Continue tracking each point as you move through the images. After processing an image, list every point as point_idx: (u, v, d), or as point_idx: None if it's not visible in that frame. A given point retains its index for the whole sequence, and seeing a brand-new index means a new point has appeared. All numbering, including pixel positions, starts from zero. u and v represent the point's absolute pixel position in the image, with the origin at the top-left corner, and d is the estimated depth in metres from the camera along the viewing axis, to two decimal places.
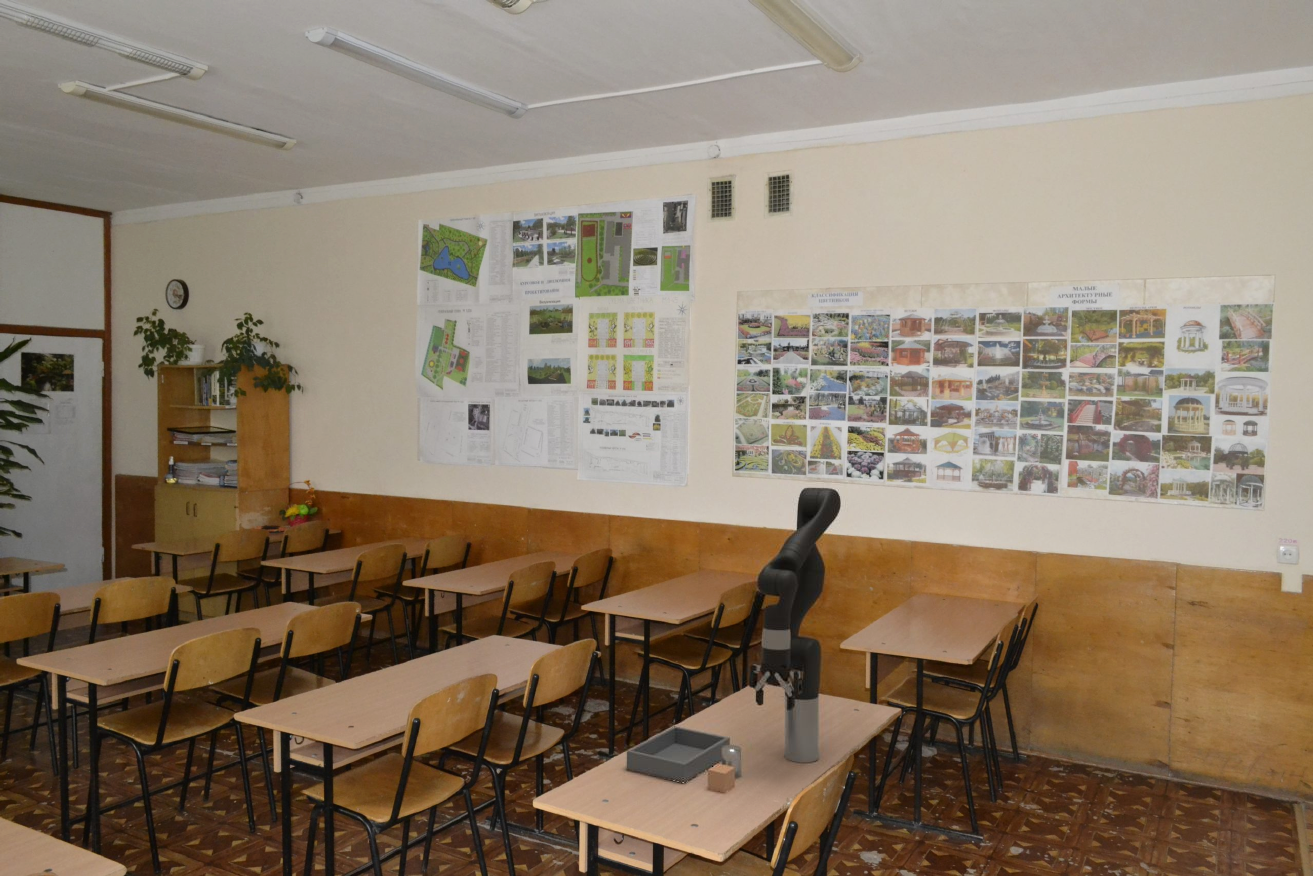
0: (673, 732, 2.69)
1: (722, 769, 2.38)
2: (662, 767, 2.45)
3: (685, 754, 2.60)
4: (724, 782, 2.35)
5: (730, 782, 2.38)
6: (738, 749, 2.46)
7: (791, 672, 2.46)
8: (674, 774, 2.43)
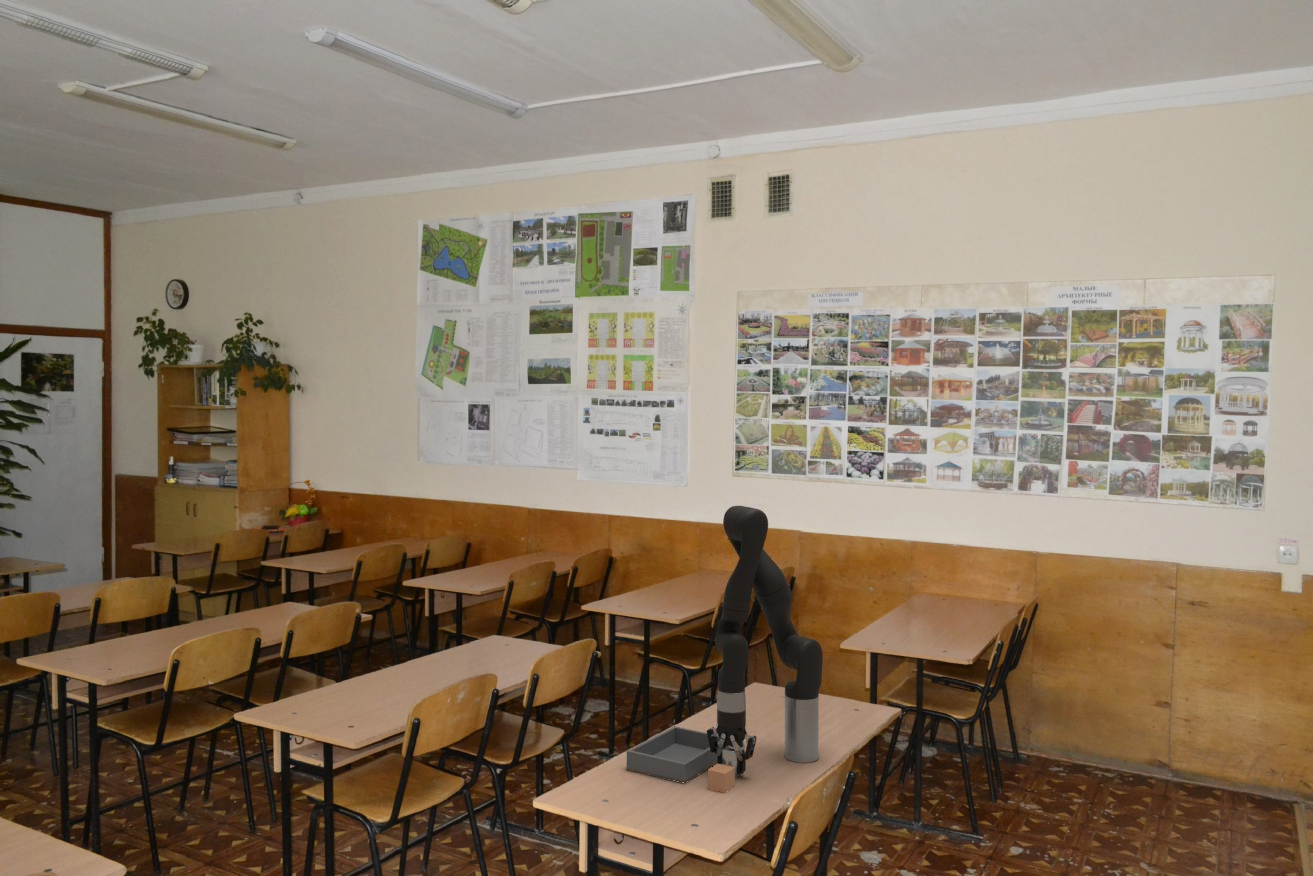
0: (673, 732, 2.69)
1: (722, 769, 2.38)
2: (662, 767, 2.45)
3: (685, 754, 2.60)
4: (724, 782, 2.35)
5: (730, 782, 2.38)
6: None
7: (746, 736, 2.44)
8: (674, 774, 2.43)
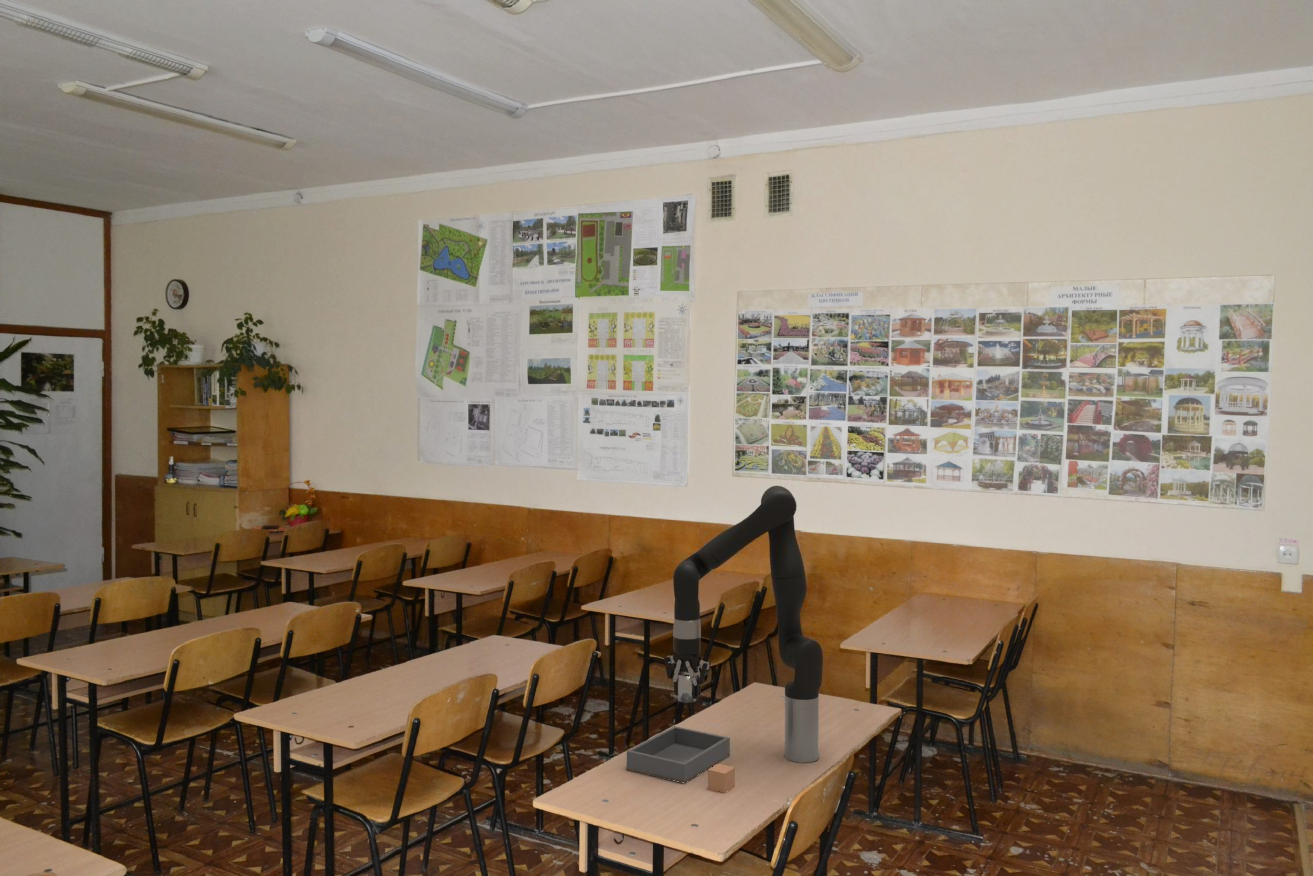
0: (673, 732, 2.69)
1: (722, 769, 2.38)
2: (662, 767, 2.45)
3: (685, 754, 2.60)
4: (724, 782, 2.35)
5: (730, 782, 2.38)
6: None
7: (701, 662, 2.56)
8: (674, 774, 2.43)
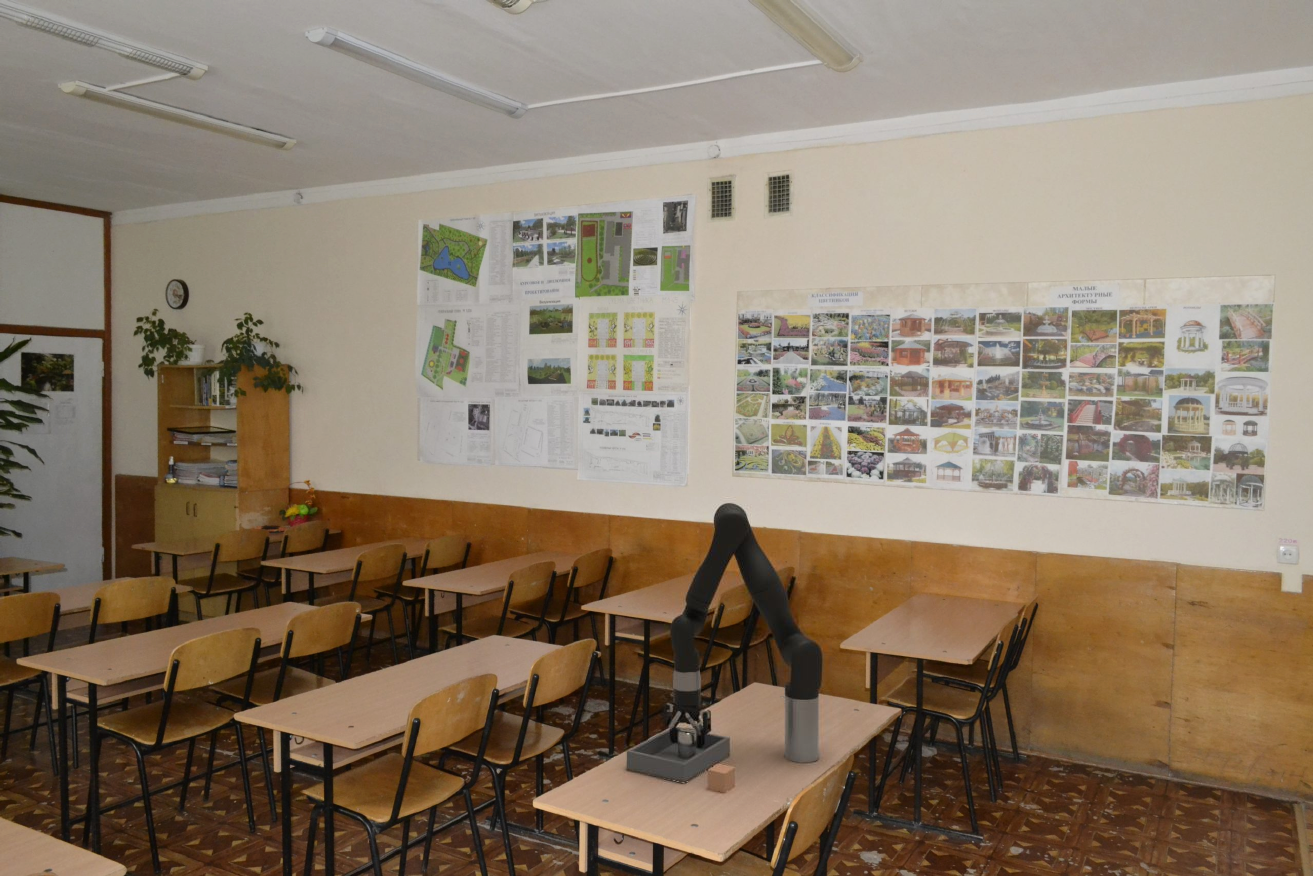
0: None
1: (722, 769, 2.38)
2: (662, 767, 2.45)
3: None
4: (724, 782, 2.35)
5: (730, 782, 2.38)
6: (693, 731, 2.58)
7: (701, 712, 2.56)
8: (674, 774, 2.43)
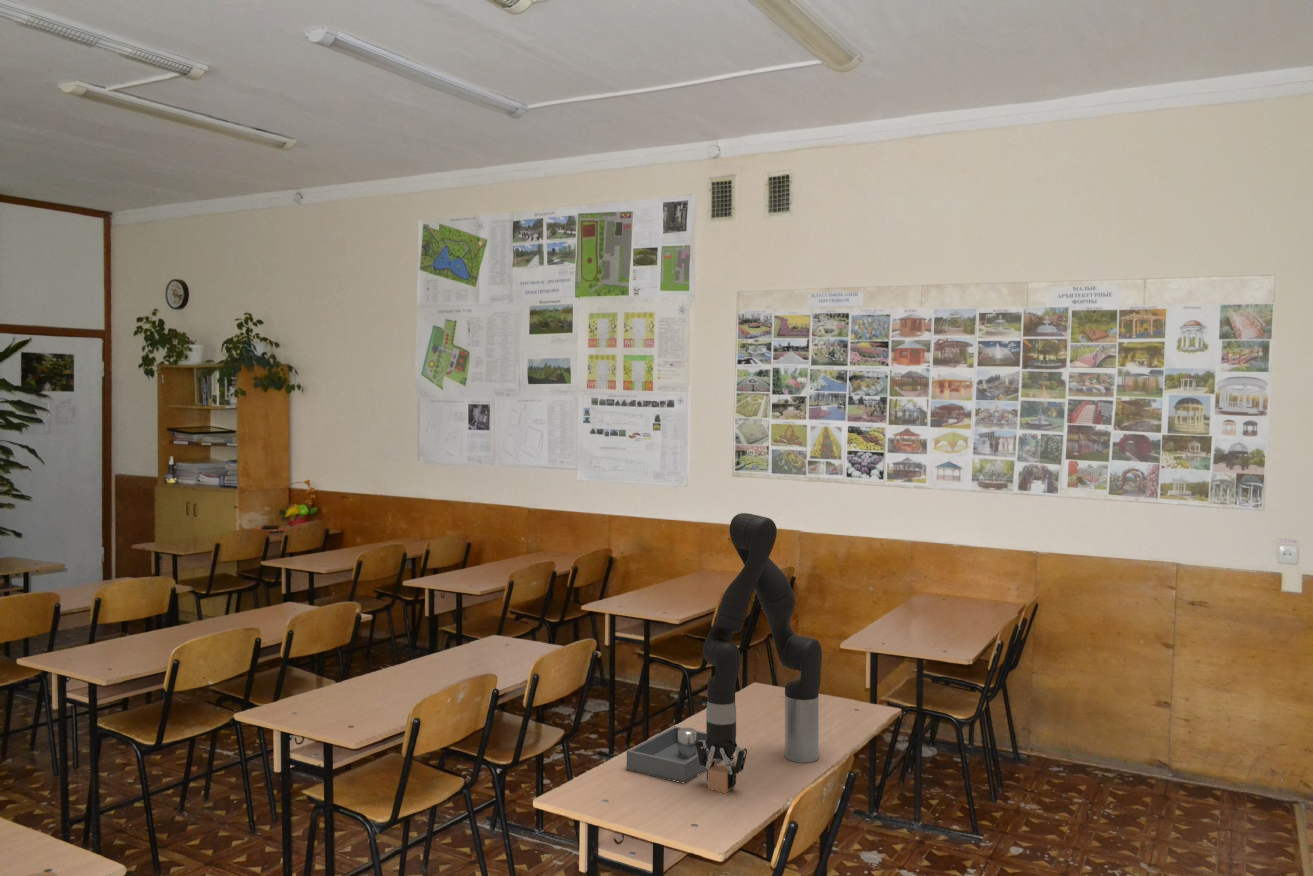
0: (673, 732, 2.69)
1: (722, 769, 2.38)
2: (662, 767, 2.45)
3: None
4: (724, 782, 2.35)
5: None
6: (693, 731, 2.58)
7: (737, 749, 2.35)
8: (674, 774, 2.43)
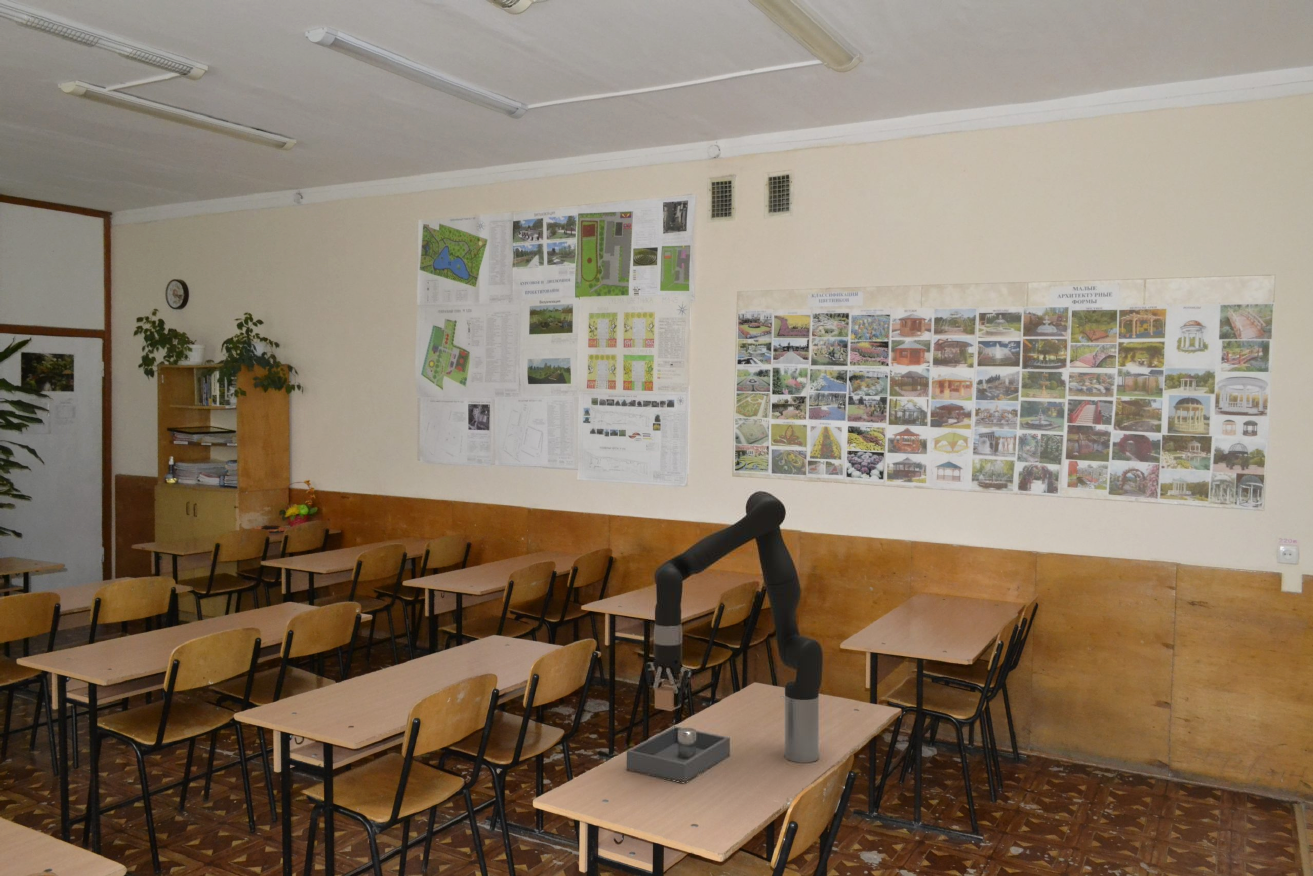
0: (673, 732, 2.69)
1: (668, 689, 2.49)
2: (662, 767, 2.45)
3: None
4: (670, 700, 2.47)
5: None
6: (693, 731, 2.58)
7: (682, 669, 2.47)
8: (674, 774, 2.43)
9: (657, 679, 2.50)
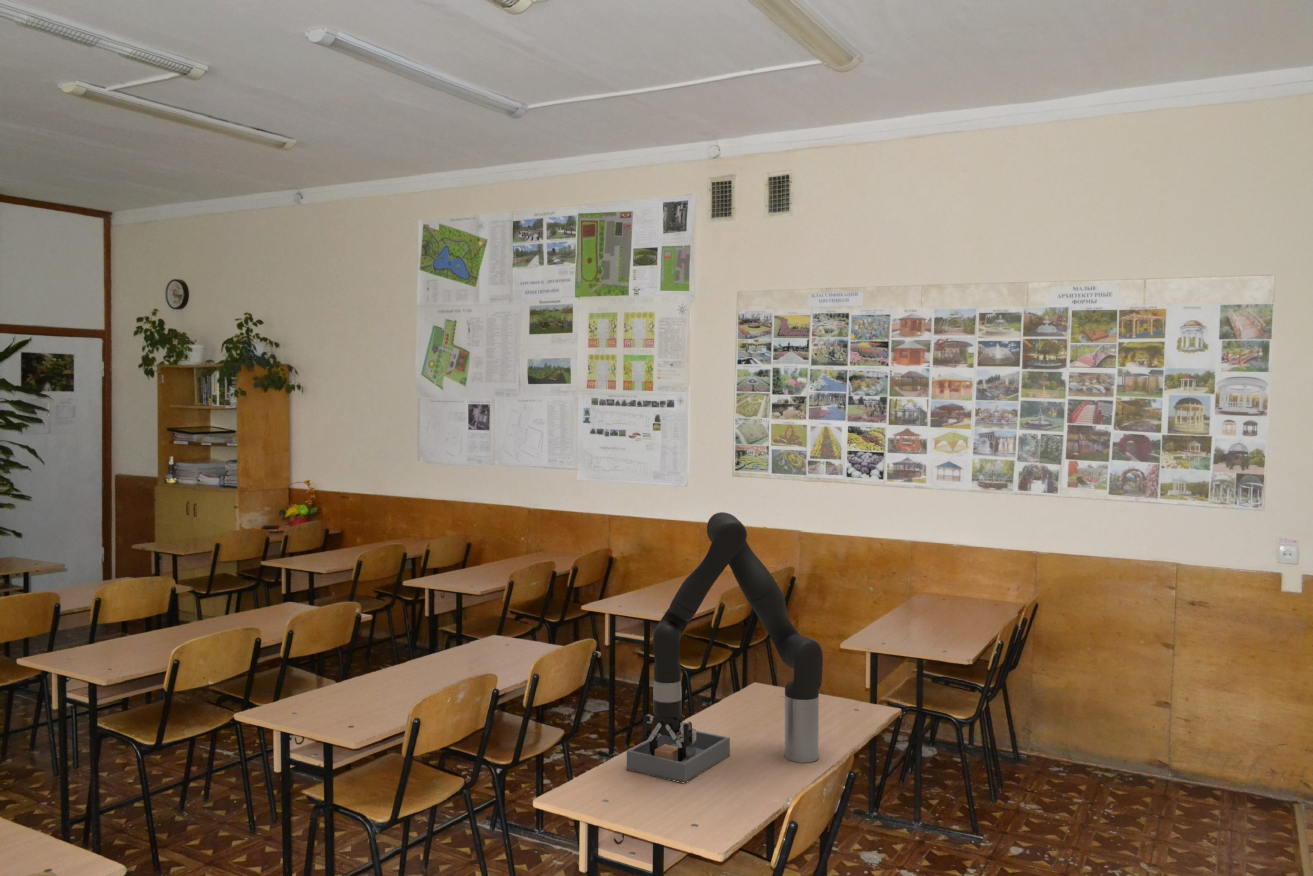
0: None
1: (668, 750, 2.50)
2: (662, 767, 2.45)
3: None
4: None
5: None
6: (693, 731, 2.58)
7: (681, 724, 2.48)
8: (674, 774, 2.43)
9: (654, 733, 2.51)
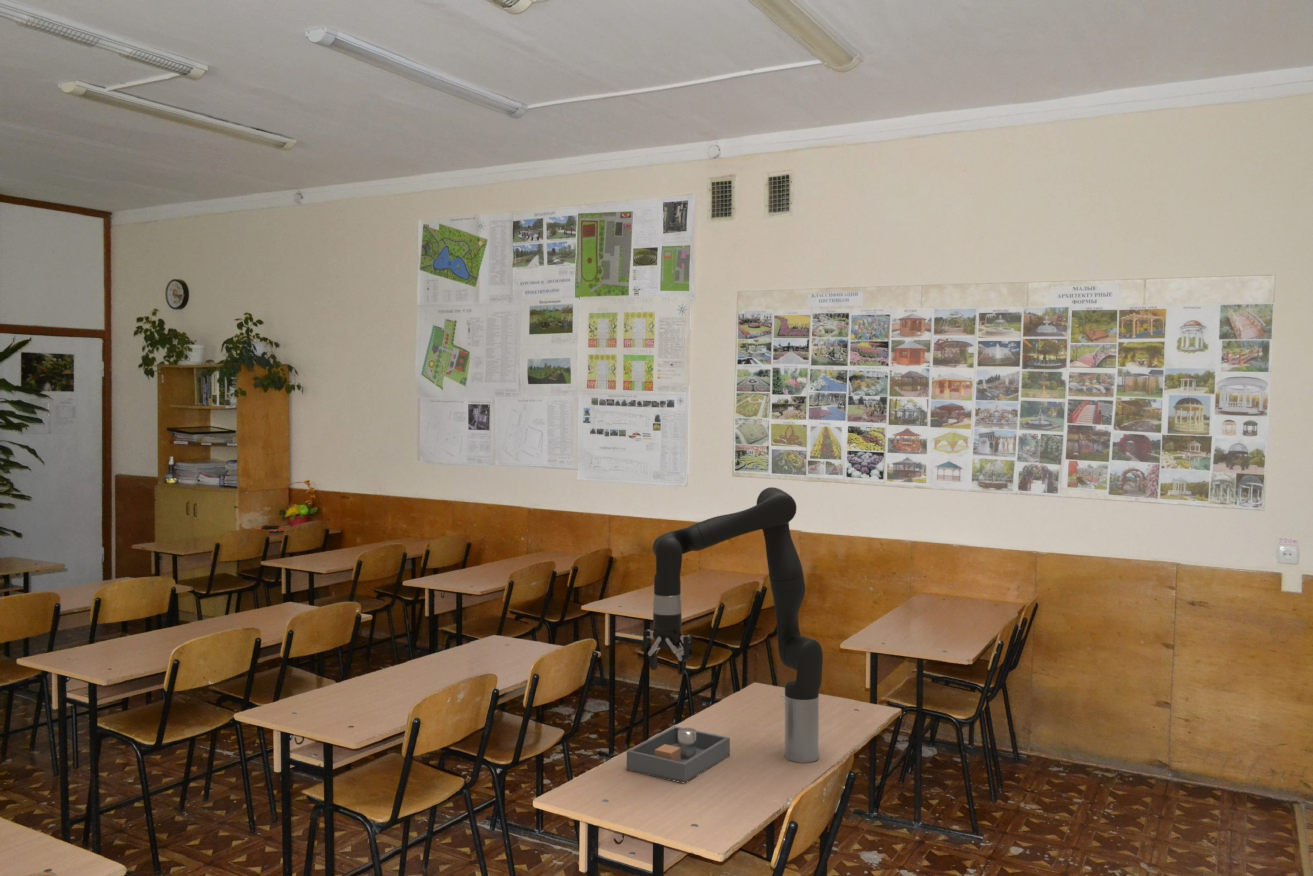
0: (673, 732, 2.69)
1: (668, 750, 2.50)
2: (662, 767, 2.45)
3: None
4: None
5: None
6: (693, 731, 2.58)
7: (681, 637, 2.47)
8: (674, 774, 2.43)
9: (654, 647, 2.50)
